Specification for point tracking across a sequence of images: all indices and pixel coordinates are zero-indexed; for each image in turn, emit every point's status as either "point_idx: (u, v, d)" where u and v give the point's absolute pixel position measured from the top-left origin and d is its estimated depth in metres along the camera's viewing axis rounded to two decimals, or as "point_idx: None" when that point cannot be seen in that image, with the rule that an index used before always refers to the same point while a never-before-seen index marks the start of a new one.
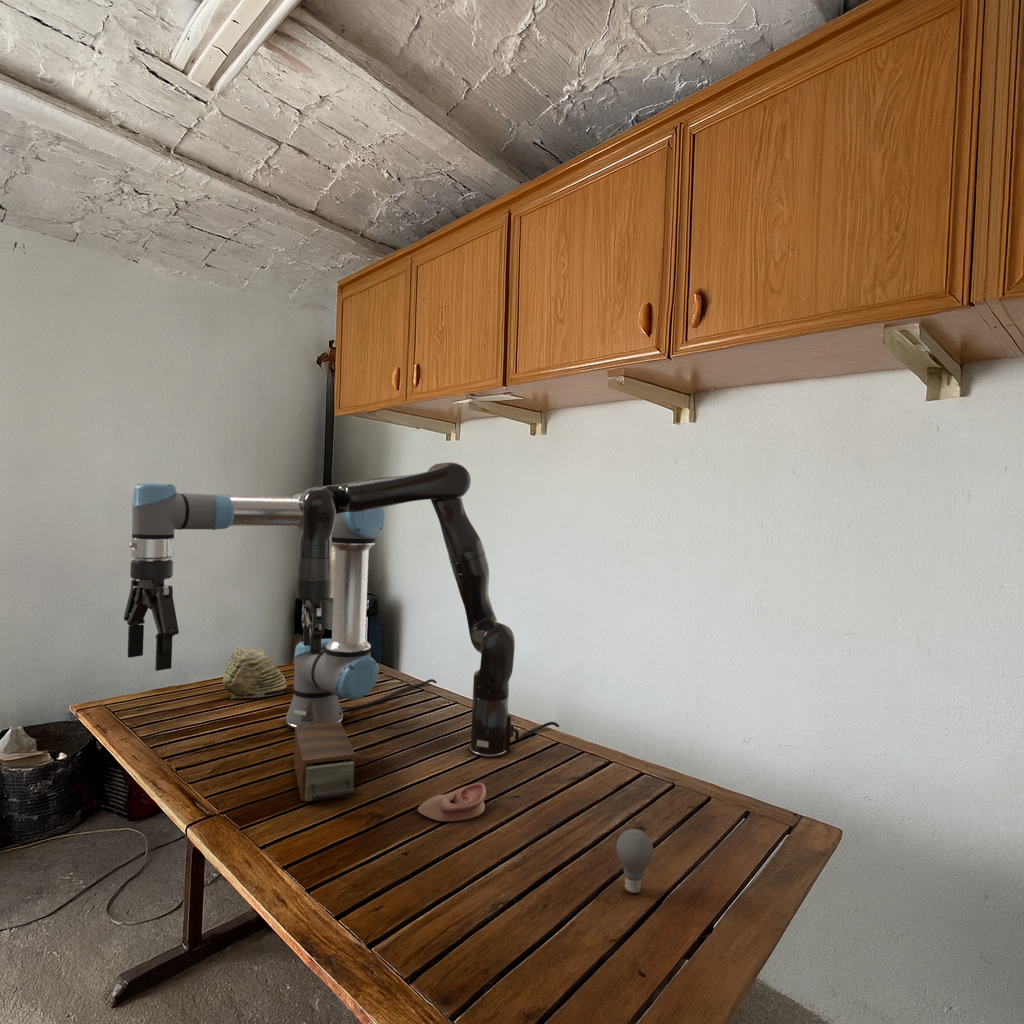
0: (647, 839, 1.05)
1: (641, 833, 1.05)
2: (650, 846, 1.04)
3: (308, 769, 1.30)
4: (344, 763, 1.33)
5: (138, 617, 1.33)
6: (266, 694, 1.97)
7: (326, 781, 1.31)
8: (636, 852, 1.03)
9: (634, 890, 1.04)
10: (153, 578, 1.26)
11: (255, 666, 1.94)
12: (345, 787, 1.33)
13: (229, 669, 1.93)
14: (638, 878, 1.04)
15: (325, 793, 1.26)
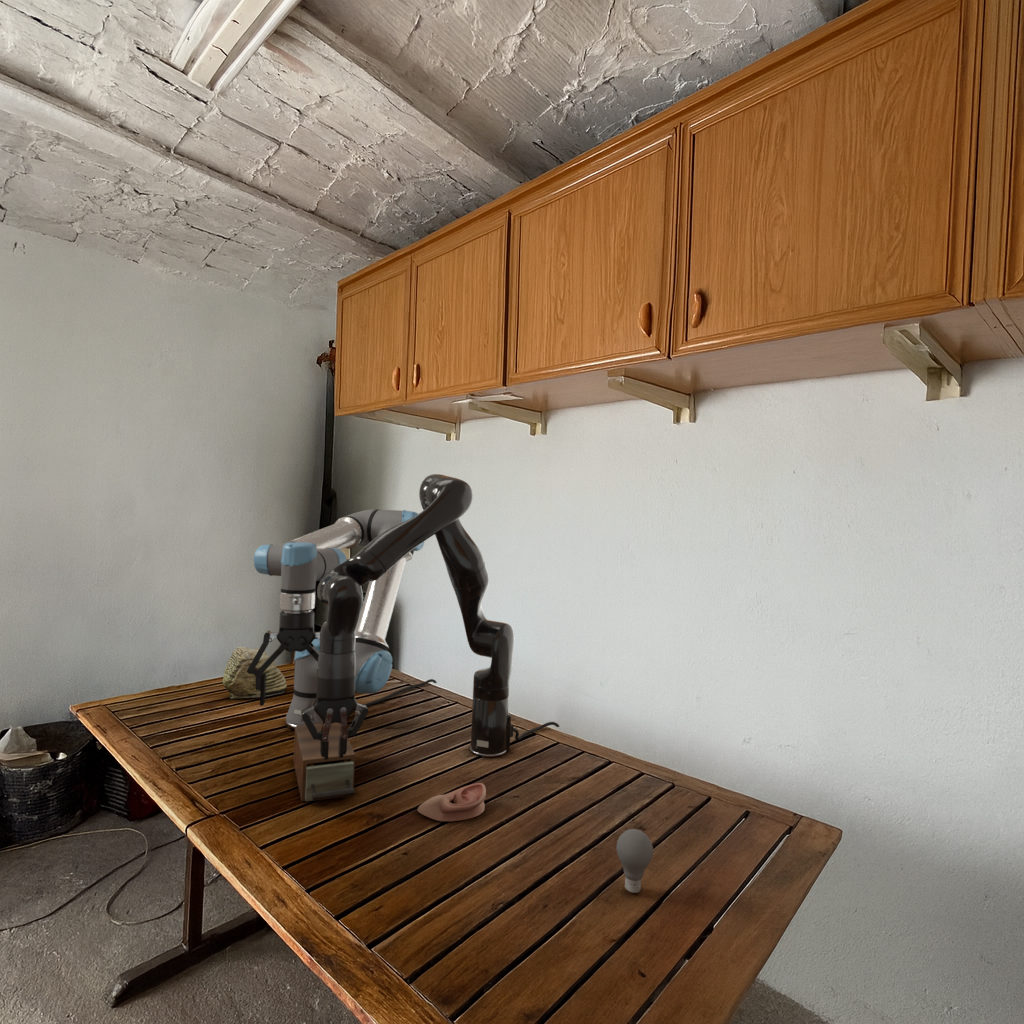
0: (647, 839, 1.05)
1: (641, 833, 1.05)
2: (650, 846, 1.04)
3: (308, 769, 1.30)
4: (344, 763, 1.33)
5: None
6: (266, 694, 1.97)
7: (326, 781, 1.31)
8: (636, 852, 1.03)
9: (634, 890, 1.04)
10: (312, 626, 1.44)
11: None
12: (345, 787, 1.33)
13: (229, 669, 1.93)
14: (638, 878, 1.04)
15: (325, 793, 1.26)
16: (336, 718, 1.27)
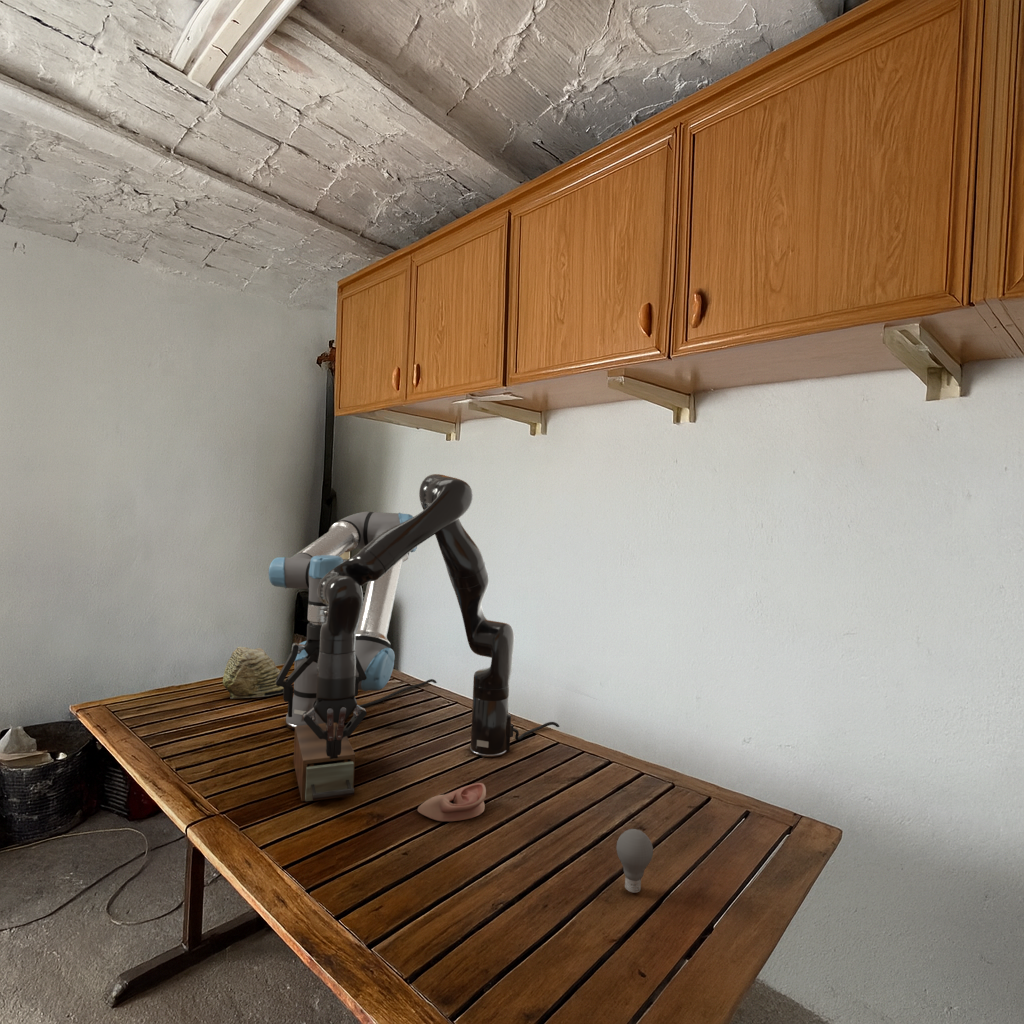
0: (647, 839, 1.05)
1: (641, 833, 1.05)
2: (650, 846, 1.04)
3: (308, 769, 1.30)
4: (344, 763, 1.33)
5: None
6: (266, 694, 1.97)
7: (326, 781, 1.31)
8: (636, 852, 1.03)
9: (634, 890, 1.04)
10: None
11: (255, 666, 1.94)
12: (345, 787, 1.33)
13: (229, 669, 1.93)
14: (638, 878, 1.04)
15: (325, 793, 1.26)
16: (336, 718, 1.27)
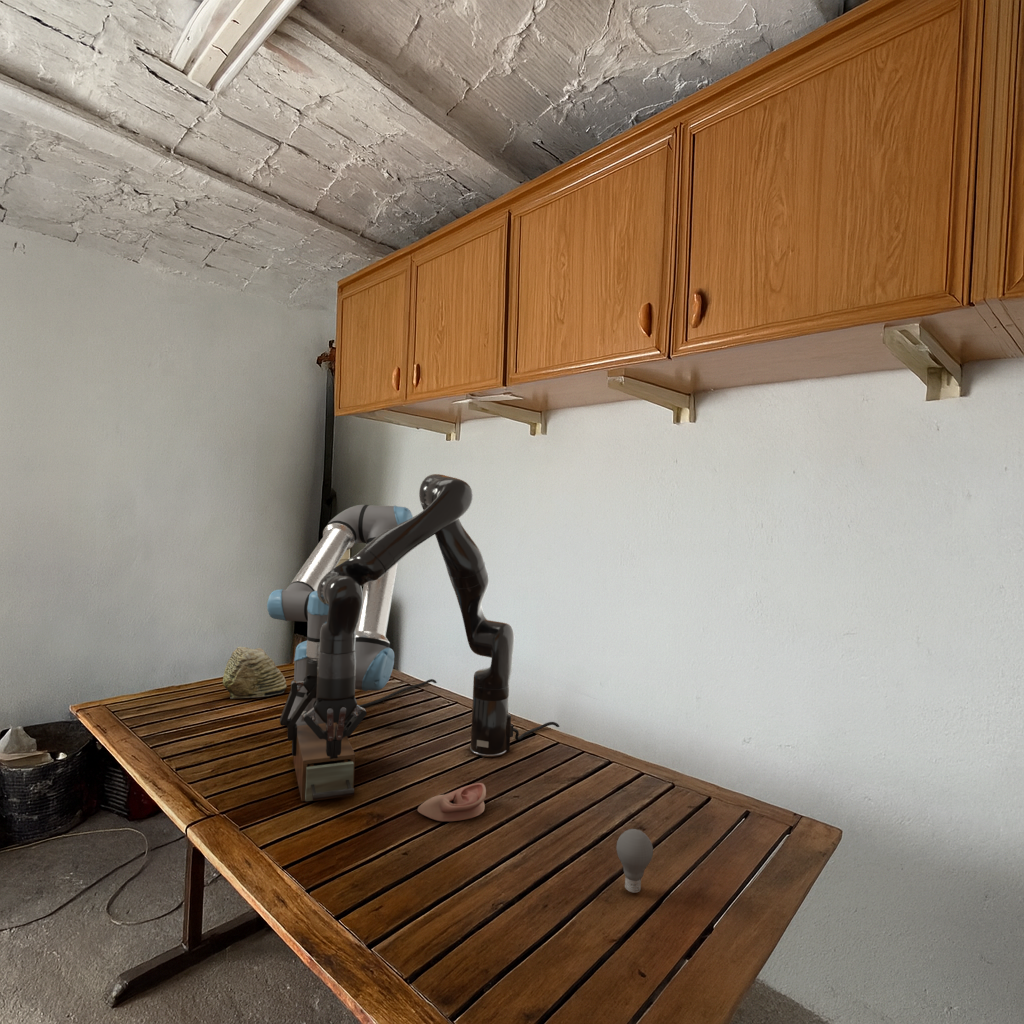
0: (647, 839, 1.05)
1: (641, 833, 1.05)
2: (650, 846, 1.04)
3: (308, 769, 1.30)
4: (344, 763, 1.33)
5: None
6: (266, 694, 1.97)
7: (326, 781, 1.31)
8: (636, 852, 1.03)
9: (634, 890, 1.04)
10: None
11: (255, 666, 1.94)
12: (345, 787, 1.33)
13: (229, 669, 1.93)
14: (638, 878, 1.04)
15: (325, 793, 1.26)
16: (336, 718, 1.27)
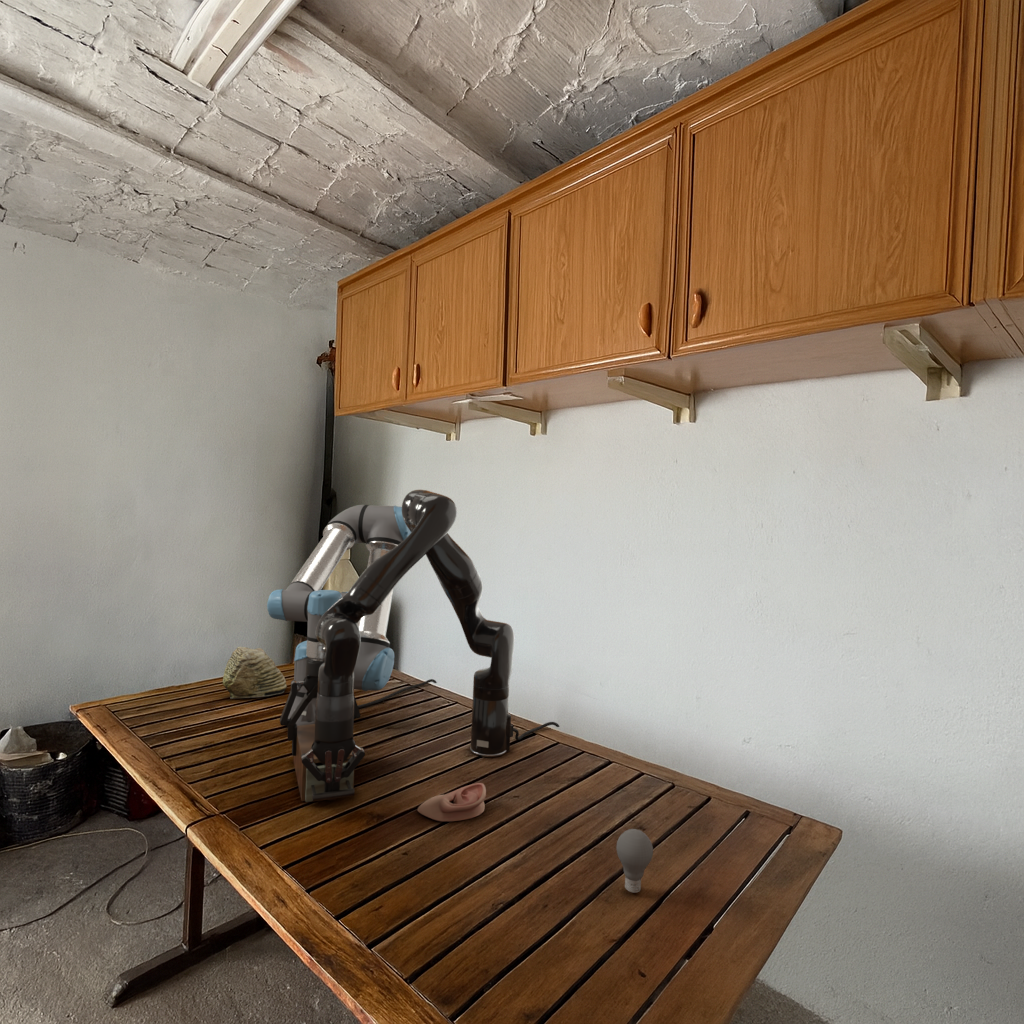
0: (647, 839, 1.05)
1: (641, 833, 1.05)
2: (650, 846, 1.04)
3: (308, 770, 1.29)
4: (344, 764, 1.33)
5: None
6: (266, 694, 1.97)
7: None
8: (636, 852, 1.03)
9: (634, 890, 1.04)
10: None
11: (255, 666, 1.94)
12: (345, 788, 1.32)
13: (229, 669, 1.93)
14: (638, 878, 1.04)
15: (325, 793, 1.25)
16: (334, 760, 1.27)
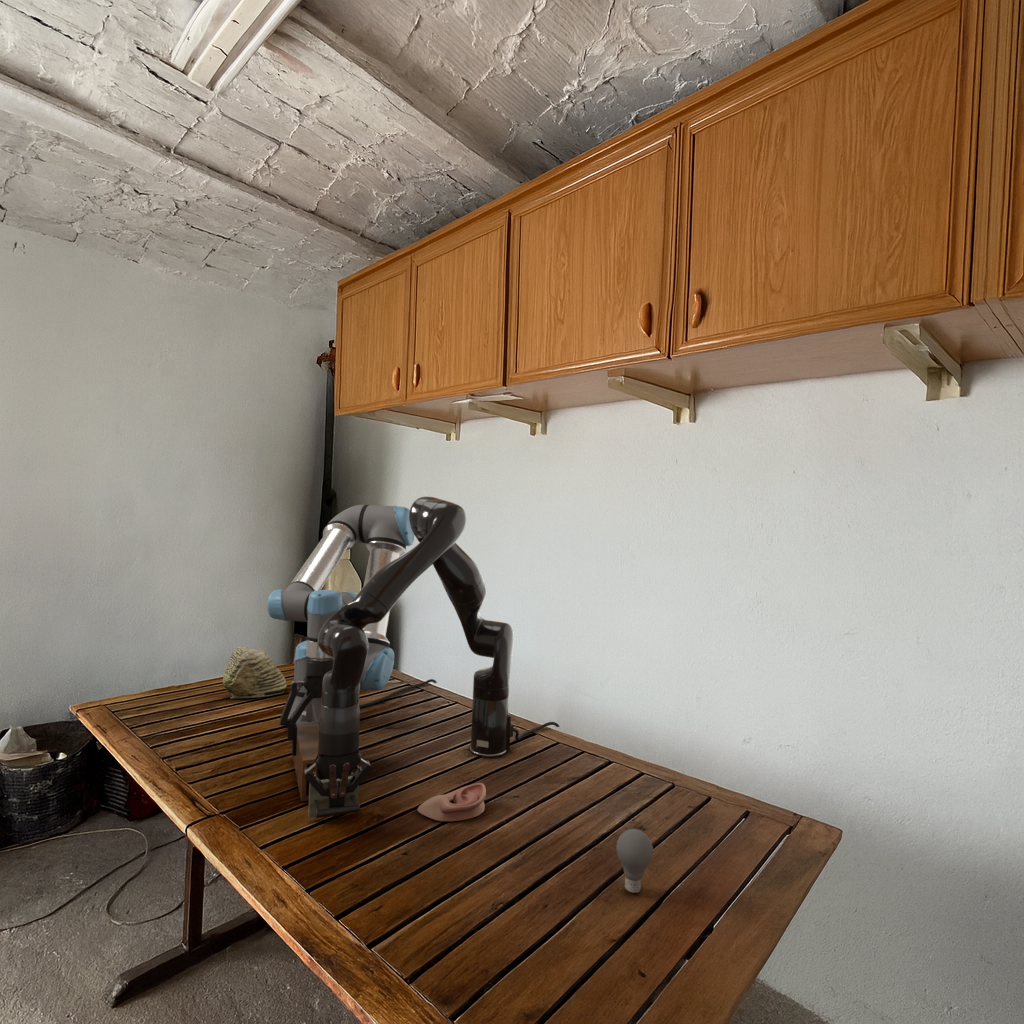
0: (647, 839, 1.05)
1: (641, 833, 1.05)
2: (650, 846, 1.04)
3: None
4: (349, 777, 1.26)
5: None
6: (266, 694, 1.97)
7: None
8: (636, 852, 1.03)
9: (634, 890, 1.04)
10: None
11: (255, 666, 1.94)
12: (350, 802, 1.26)
13: (229, 669, 1.93)
14: (638, 878, 1.04)
15: (329, 810, 1.19)
16: (339, 774, 1.21)
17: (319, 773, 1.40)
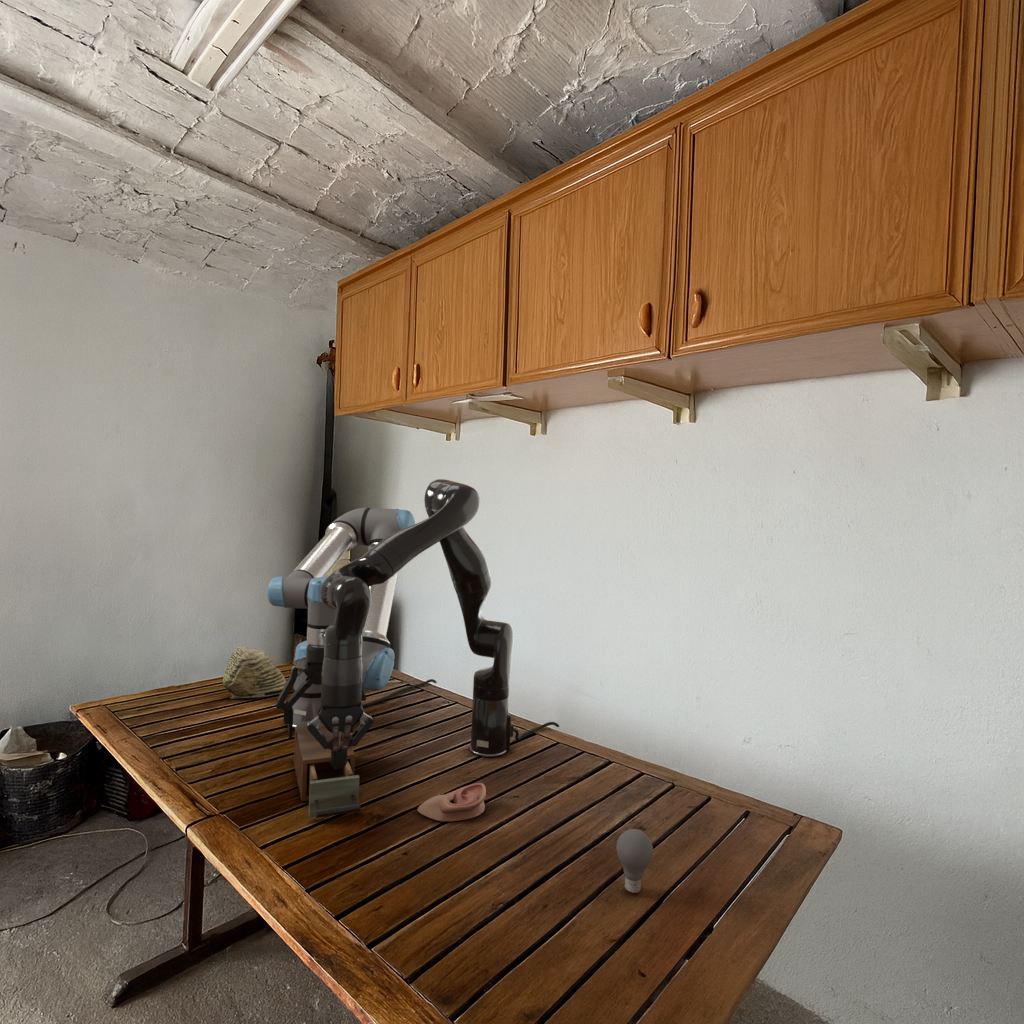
0: (647, 839, 1.05)
1: (641, 833, 1.05)
2: (650, 846, 1.04)
3: (312, 784, 1.23)
4: (349, 777, 1.26)
5: None
6: (266, 694, 1.97)
7: (331, 796, 1.25)
8: (636, 852, 1.03)
9: (634, 890, 1.04)
10: None
11: (255, 666, 1.94)
12: (350, 802, 1.26)
13: (229, 669, 1.93)
14: (638, 878, 1.04)
15: (329, 809, 1.19)
16: (342, 727, 1.21)
17: (319, 773, 1.40)
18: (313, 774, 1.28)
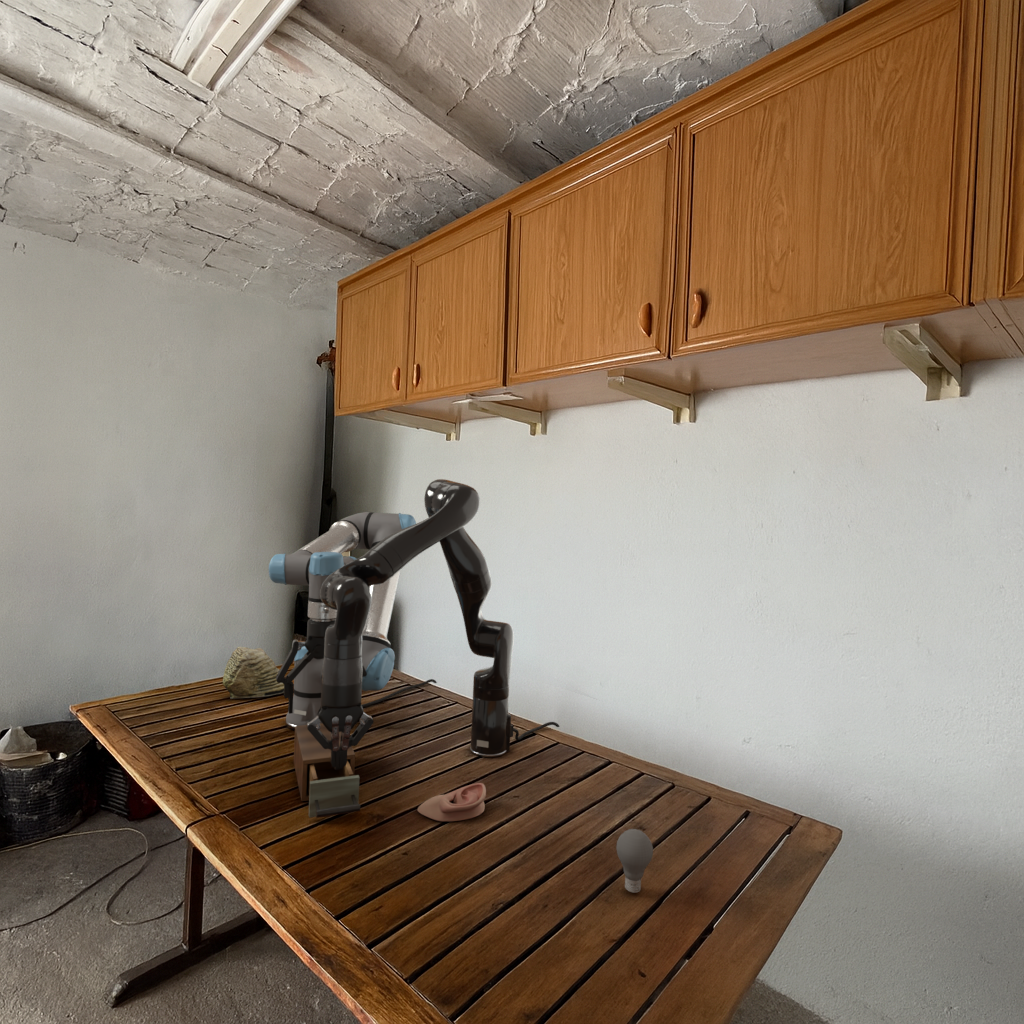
0: (647, 839, 1.05)
1: (641, 833, 1.05)
2: (650, 846, 1.04)
3: (312, 784, 1.23)
4: (349, 777, 1.26)
5: None
6: (266, 694, 1.97)
7: (331, 796, 1.25)
8: (636, 852, 1.03)
9: (634, 890, 1.04)
10: None
11: (255, 666, 1.94)
12: (350, 802, 1.26)
13: (229, 669, 1.93)
14: (638, 878, 1.04)
15: (329, 809, 1.19)
16: (342, 727, 1.21)
17: (319, 773, 1.40)
18: (313, 774, 1.28)
